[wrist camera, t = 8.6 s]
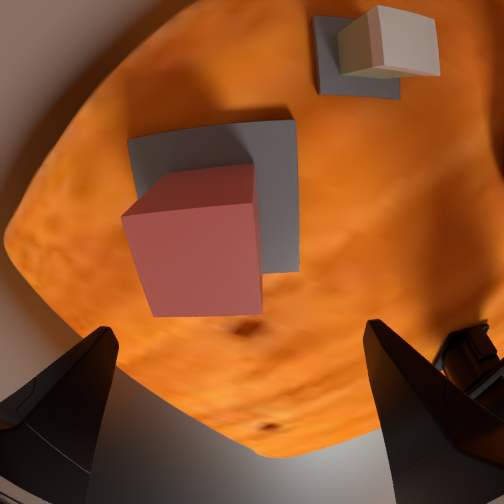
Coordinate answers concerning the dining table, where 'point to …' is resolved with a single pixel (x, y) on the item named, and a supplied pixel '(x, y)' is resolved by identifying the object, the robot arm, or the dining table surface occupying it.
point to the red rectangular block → (199, 243)
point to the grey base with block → (373, 52)
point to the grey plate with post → (236, 153)
